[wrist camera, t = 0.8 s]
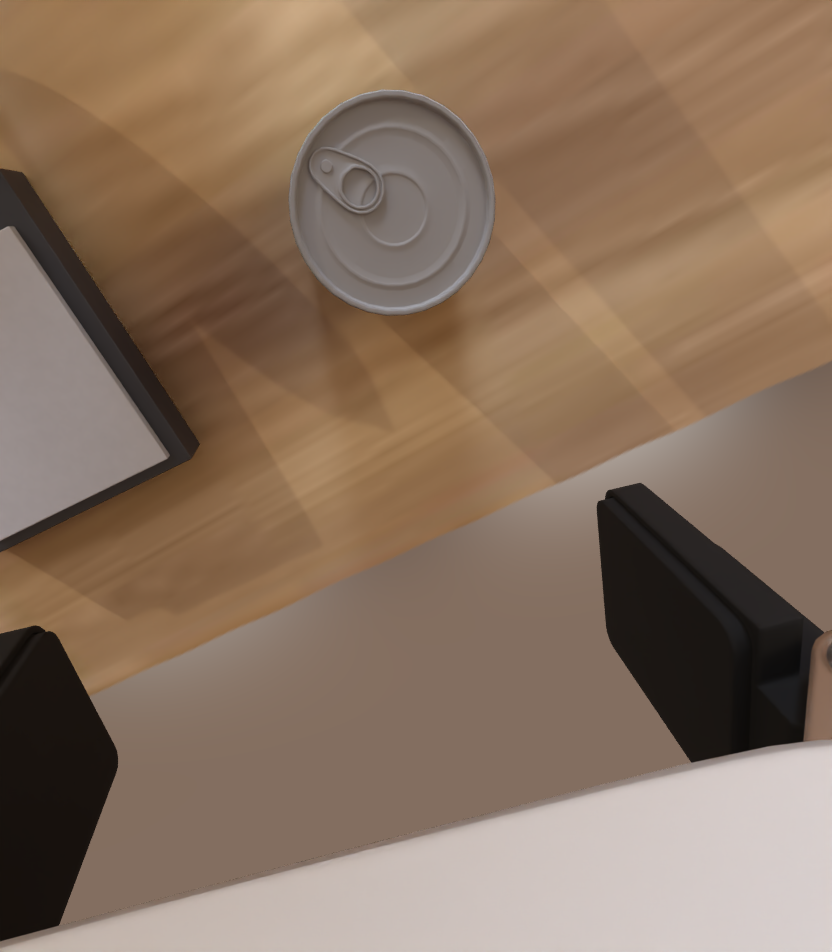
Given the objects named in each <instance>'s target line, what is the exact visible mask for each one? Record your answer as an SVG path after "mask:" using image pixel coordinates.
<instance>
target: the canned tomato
mask: <svg viewBox="0 0 832 952" xmlns="http://www.w3.org/2000/svg"><path fill="white" fill-rule="evenodd" d="M289 211H290V222H291V226H292V230H293V234H294V237H295V241H296V244H297V246H298V248H299V250H300V253H301V255H302V257H303V259H304V261H305V263H306V264H307V266H308V267H309V269H310V270H311V271H312V273H313V274H314V276H315V277H316V278H317V280H318V281H319V282H320V283H321V284H322V285H324V286H325V287H326V288H327V289H328V290H329V291H330V292H331V293H332V294H333V295H335V296H336V297H338V298H339V299H341V300H342V301H344V302H346V303H347V304H349V305H351V306H353V307H356V308H358V309H361V310H363V311H366V312H370V313H375V314H381V315H408V314H412V313H417V312H421V311H425V310H427V309H429V308H432V307H434V306H436V305H438V304H440V303H442V302H444V301H445V300H446V299H448V298H449V297H451V296H452V295H453V294H455V293H456V292H458V290H459V289H460V288H461V287H462V286H463V285H464V284H465V283H466V282H467V281H468V280H469V279H470V278H471V277H472V275H473V273H474V272H475V270H476V269H477V267H478V266H479V264H480V263H481V261H482V259H483V257H484V254H485V252H486V250H487V247H488V245H489V242H490V239H491V234H492V230H493V225H494V221H495V192H494V185H493V177H492V174H491V171H490V168H489V165H488V162H487V159H486V156H485V154H484V152H483V150H482V148H481V147H480V145H479V143H478V141H477V139H476V137H475V136H474V135H473V133H472V132H471V131H470V130H469V129H468V127H467V126H466V125H465V124H464V123H463V121H462V120H461V119H460V118H459V117H457V116H456V115H455V114H454V113H452V112H451V111H450V110H449V109H447V108H446V107H445V106H444V105H442V104H440V103H438V102H436V101H434V100H432V99H430V98H428V97H426V96H424V95H420V94H416V93H412V92H408V91H404V90H378V91H374V92H369V93H364V94H360V95H358V96H356V97H353V98H351V99H349V100H347V101H345V102H343V103H341V104H339V105H338V106H337V107H335V108H334V109H333V110H331V111H330V112H329V113H328V114H326V115H325V116H324V117H323V118H322V119H321V120H320V121H319V122H318V124H317V125H316V126H315V127H314V128H313V129H312V131H311V132H310V133H309V134H308V136H307V138H306V140H305V142H304V144H303V145H302V147H301V149H300V151H299V153H298V155H297V158H296V162H295V165H294V168H293V171H292V174H291V181H290V190H289Z"/></svg>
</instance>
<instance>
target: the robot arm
mask: <svg viewBox="0 0 832 952" xmlns="http://www.w3.org/2000/svg"><path fill="white" fill-rule="evenodd" d="M597 517H598V531H599V543H600V556H601V568H602V581H603V594H604V606H605V618H606V628H607V633H608V636H609V639H610V641H611V644H612V645H613V647H614V649H615V650H616V652H617V653H618V655H619V656H620V658H621V659H622V661H623V662H624V663H625V665H626V666H627V668H628V669H629V671H630V673H631V674H632V675H633V677H634V678H635V680H636V681H637V683H638V684H639V686H640V687H641V689H642V690H643V692H644V693H645V695H646V696H647V698H648V699H649V700H650V702H651V704H652V705H653V706H654V708H655V709H656V711H657V712H658V714H659V715H660V717H661V718H662V720H663V721H664V723H665V724H666V726H667V727H668V729H669V730H670V732H671V733H672V735H673V736H674V738H675V739H676V741H677V742H678V744H679V745H680V746H681V748H682V749H683V751H684V752H685V754H686V755H687V757H688V758H689V760H690V761H691V763H688V764H684V765H679V766H675V767H671V768H667V769H663V770H659V771H655V772H651V773H647V774H643V775H639V776H635V777H631V778H627V779H623V780H618V781H614V782H610V783H606V784H602V785H597V786H593V787H589V788H585V789H581V790H578V791H574V792H570V793H566V794H562V795H558V796H554V797H550V798H547V799H542V800H538V801H534V802H530V803H526V804H523V805H519V806H515V807H511V808H507V809H503V810H500V811H495V812H491V813H487V814H483V815H480V816H476V817H472V818H468V819H464V820H460V821H456V822H452V823H448V824H444V825H440V826H436V827H432V828H428V829H425V830H421V831H417V832H413V833H409V834H405V835H401V836H397V837H394V838H390V839H386V840H382V841H378V842H374V843H370V844H367V845H363V846H359V847H355V848H351V849H347V850H344V851H340V852H336V853H332V854H328V855H324V856H320V857H317V858H313V859H309V860H305V861H301V862H298V863H294V864H290V865H286V866H282V867H278V868H275V869H271V870H267V871H264V872H259V873H256V874H252V875H248V876H244V877H240V878H236V879H233V880H229V881H225V882H222V883H217V884H214V885H210V886H206V887H203V888H198V889H194V890H191V891H187V892H183V893H179V894H176V895H172V896H168V897H165V898H161V899H157V900H153V901H149V902H146V903H142V904H138V905H135V906H131V907H127V908H123V909H120V910H116V911H112V912H108V913H105V914H101V915H97V916H93V917H90V918H86V919H82V920H79V921H75V922H71V923H68V924H63V925H60V926H59V924H60V921H61V918H62V916H63V913H64V910H65V908H66V905H67V902H68V899H69V897H70V895H71V892H72V889H73V886H74V884H75V881H76V879H77V876H78V873H79V871H80V868H81V865H82V862H83V860H84V857H85V854H86V852H87V849H88V846H89V844H90V841H91V838H92V836H93V833H94V830H95V828H96V825H97V822H98V819H99V817H100V814H101V812H102V809H103V806H104V804H105V801H106V798H107V795H108V793H109V790H110V788H111V785H112V782H113V780H114V777H115V774H116V771H117V768H118V755H117V750H116V748H115V746H114V743H113V742H112V740H111V738H110V736H109V734H108V732H107V730H106V728H105V726H104V725H103V722H102V720H101V719H100V717H99V715H98V713H97V711H96V709H95V707H94V705H93V703H92V702H91V700H90V698H89V696H88V694H87V692H86V690H85V688H84V686H83V684H82V682H81V680H80V679H79V677H78V675H77V673H76V671H75V669H74V667H73V665H72V663H71V661H70V659H69V658H68V656H67V654H66V652H65V650H64V648H63V646H62V644H61V642H60V640H59V639H58V637H57V636H56V634H54V633H53V632H50V631H48V632H46V631H45V630H44V629H43V628H41V627H40V626H31V627H27V628H23V629H18V630H14V631H10V632H6V633H2V634H0V952H832V630H830V631H827V632H825V633H824V632H823V631H822V630H821V629H819V628H818V627H817V626H816V625H815V624H813V623H812V622H811V621H810V620H808V619H807V618H806V617H805V616H804V615H802V614H801V613H800V612H799V611H797V610H796V609H795V608H794V607H793V606H792V605H790V604H789V603H788V602H786V601H785V600H784V599H783V598H782V597H781V596H779V595H778V594H777V593H776V592H774V591H773V590H772V589H771V588H770V587H769V586H767V585H766V584H765V583H764V582H763V581H761V580H760V579H759V578H758V577H756V576H755V575H754V574H753V573H751V572H750V571H749V570H748V569H747V568H746V567H744V566H743V565H742V564H741V563H740V562H738V561H737V560H736V559H735V558H733V557H732V556H731V555H730V554H729V553H727V552H726V551H725V550H724V549H723V548H721V547H720V546H718V545H716V544H714V543H713V542H712V541H711V540H710V539H708V538H707V537H706V536H705V535H704V534H702V533H701V532H700V531H699V530H698V529H696V528H695V527H694V526H693V525H692V524H690V523H689V522H688V521H687V520H686V519H684V518H683V517H682V516H681V515H679V514H678V513H677V512H676V511H675V510H674V509H672V508H671V507H670V506H669V505H668V504H666V503H665V502H664V501H663V500H661V499H660V498H659V497H658V496H657V495H655V494H654V493H653V492H652V491H651V490H650V489H648V488H647V487H646V486H644V485H643V484H641V483H637V484H633V485H629V486H625V487H620V488H616V489H612V490H608V491H607V493H606V496H605V500H601V501H599V502H598V503H597Z"/></svg>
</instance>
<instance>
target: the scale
mask: <svg viewBox="0 0 832 952" xmlns="http://www.w3.org/2000/svg"><path fill="white" fill-rule="evenodd" d="M199 445H200V444H199V442H198V440H197V439H196V437H195V436H194V434H193V433H192V431H191V430H190V428H189V427H188V425H187V424H186V422H185V421H184V419H183V418H182V416H181V414H180V413H179V411H178V410H177V408H176V407H175V405H174V404H173V402H172V401H171V399H170V398H169V396H168V395H167V393H166V391H165V390H164V388H163V387H162V385H161V384H160V382H159V381H158V379H157V378H156V376H155V375H154V373H153V372H152V370H151V369H150V367H149V365H148V364H147V362H146V361H145V359H144V358H143V356H142V355H141V353H140V352H139V350H138V349H137V347H136V346H135V344H134V342H133V341H132V339H131V338H130V336H129V335H128V333H127V332H126V330H125V329H124V327H123V326H122V324H121V323H120V321H119V320H118V318H117V316H116V315H115V313H114V312H113V310H112V309H111V307H110V306H109V304H108V303H107V301H106V300H105V298H104V297H103V295H102V293H101V292H100V290H99V289H98V287H97V286H96V284H95V283H94V281H93V280H92V278H91V277H90V275H89V274H88V272H87V271H86V269H85V267H84V266H83V264H82V263H81V261H80V260H79V258H78V257H77V255H76V254H75V252H74V251H73V249H72V248H71V246H70V244H69V243H68V241H67V240H66V238H65V237H64V235H63V234H62V232H61V231H60V229H59V228H58V226H57V225H56V223H55V221H54V220H53V218H52V217H51V215H50V214H49V212H48V211H47V209H46V208H45V206H44V205H43V203H42V202H41V200H40V199H39V197H38V195H37V194H36V192H35V191H34V189H33V188H32V186H31V185H30V183H29V182H28V180H27V179H26V177H25V176H24V174H23V173H22V172H17V171H11V170H5V169H0V552H2V551H4V550H6V549H8V548H10V547H12V546H14V545H16V544H18V543H20V542H22V541H24V540H26V539H28V538H30V537H32V536H34V535H36V534H39V533H41V532H43V531H45V530H47V529H49V528H51V527H53V526H55V525H57V524H59V523H61V522H63V521H65V520H67V519H69V518H71V517H73V516H75V515H77V514H79V513H81V512H83V511H85V510H87V509H90V508H92V507H94V506H96V505H98V504H100V503H102V502H104V501H106V500H108V499H110V498H112V497H114V496H116V495H118V494H120V493H122V492H124V491H126V490H128V489H130V488H132V487H134V486H136V485H139V484H141V483H143V482H145V481H147V480H149V479H151V478H153V477H155V476H157V475H159V474H161V473H163V472H165V471H167V470H169V469H171V468H173V467H175V466H177V465H179V464H181V463H183V462H185V461H188V460H190V459H191V458H192V457H193V455H194V453H195V452H196V450H197V448H198V446H199Z"/></svg>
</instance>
